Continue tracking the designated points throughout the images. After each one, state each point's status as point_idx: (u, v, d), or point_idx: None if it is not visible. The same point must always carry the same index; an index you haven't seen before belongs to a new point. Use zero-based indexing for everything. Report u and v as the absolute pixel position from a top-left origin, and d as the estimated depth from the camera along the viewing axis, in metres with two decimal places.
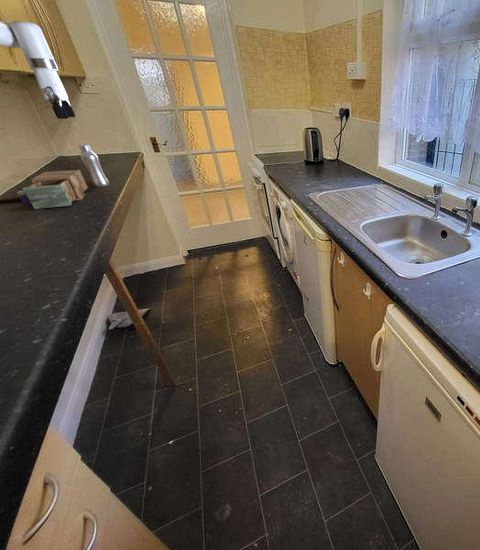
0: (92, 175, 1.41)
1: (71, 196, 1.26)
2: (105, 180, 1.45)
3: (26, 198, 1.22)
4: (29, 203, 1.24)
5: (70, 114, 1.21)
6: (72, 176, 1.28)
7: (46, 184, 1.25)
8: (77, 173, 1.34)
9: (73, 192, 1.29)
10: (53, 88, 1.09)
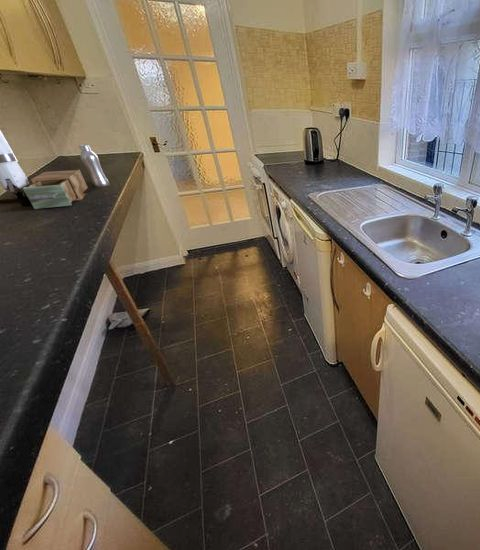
0: (92, 175, 1.41)
1: (71, 196, 1.26)
2: (105, 180, 1.45)
3: None
4: None
5: None
6: (72, 176, 1.28)
7: (46, 184, 1.25)
8: (77, 173, 1.34)
9: (73, 192, 1.29)
10: (12, 180, 1.16)
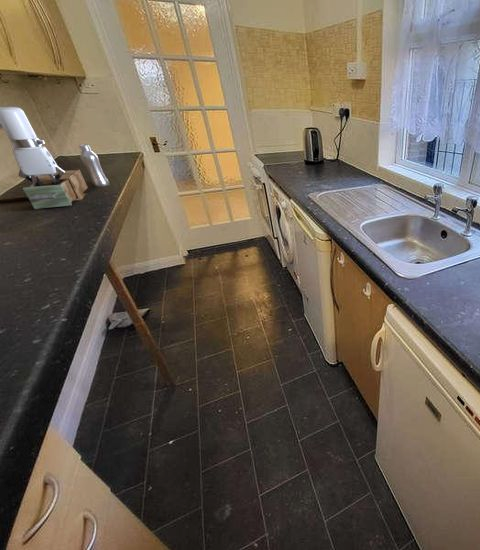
0: (92, 175, 1.41)
1: (71, 196, 1.26)
2: (105, 180, 1.45)
3: None
4: None
5: None
6: (72, 176, 1.28)
7: (46, 184, 1.25)
8: (77, 173, 1.34)
9: (73, 192, 1.29)
10: None
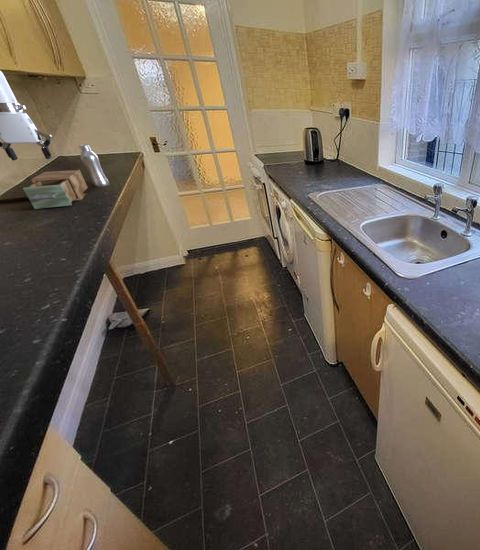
0: (92, 175, 1.41)
1: (71, 196, 1.26)
2: (105, 180, 1.45)
3: None
4: None
5: None
6: (72, 176, 1.28)
7: (46, 184, 1.25)
8: (77, 173, 1.34)
9: (73, 192, 1.29)
10: None
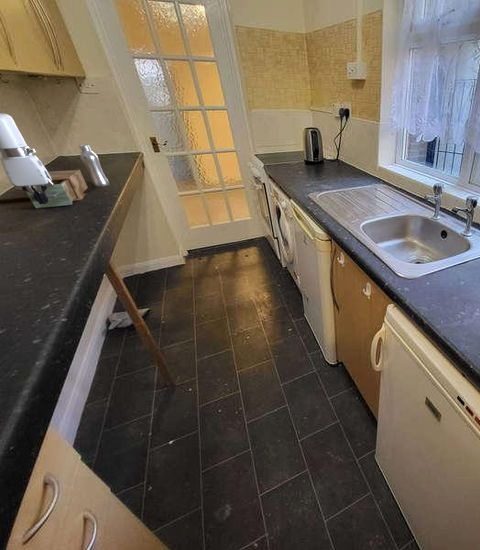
0: (92, 175, 1.41)
1: (72, 195, 1.27)
2: (105, 180, 1.45)
3: None
4: None
5: None
6: (72, 176, 1.28)
7: None
8: (77, 173, 1.34)
9: (74, 191, 1.29)
10: (7, 175, 1.06)
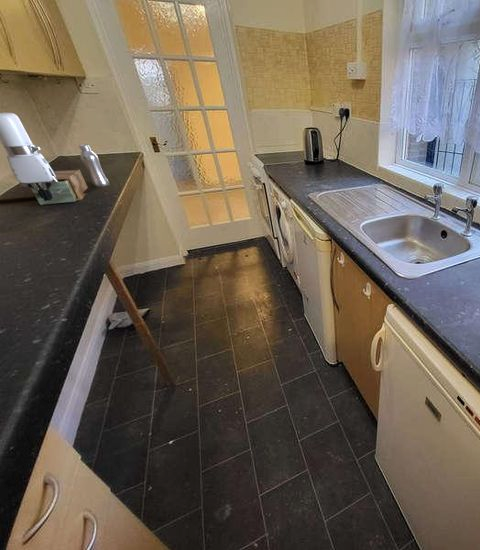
0: (92, 175, 1.41)
1: (75, 192, 1.30)
2: (105, 180, 1.45)
3: None
4: None
5: None
6: (72, 176, 1.28)
7: None
8: (77, 173, 1.34)
9: None
10: (13, 172, 1.09)
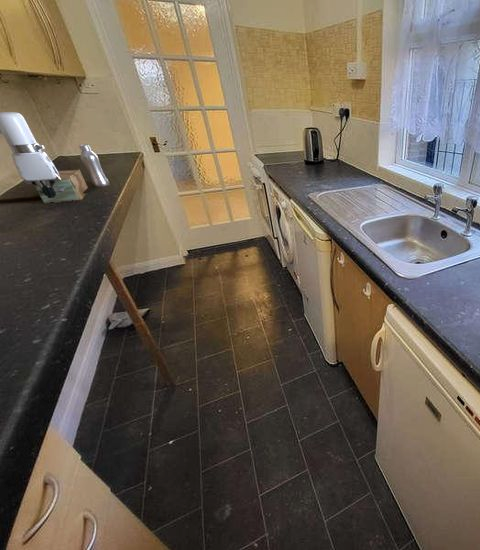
0: (92, 175, 1.41)
1: None
2: (105, 180, 1.45)
3: None
4: None
5: None
6: (72, 176, 1.28)
7: None
8: (77, 173, 1.34)
9: None
10: (18, 170, 1.12)
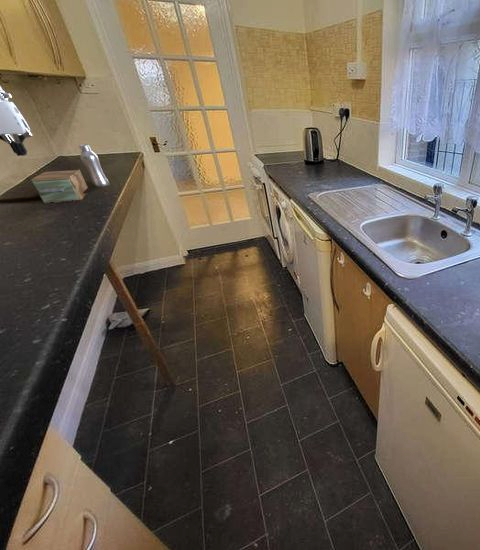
0: (92, 175, 1.41)
1: None
2: (105, 180, 1.45)
3: None
4: None
5: None
6: (72, 176, 1.28)
7: None
8: (77, 173, 1.34)
9: None
10: None
